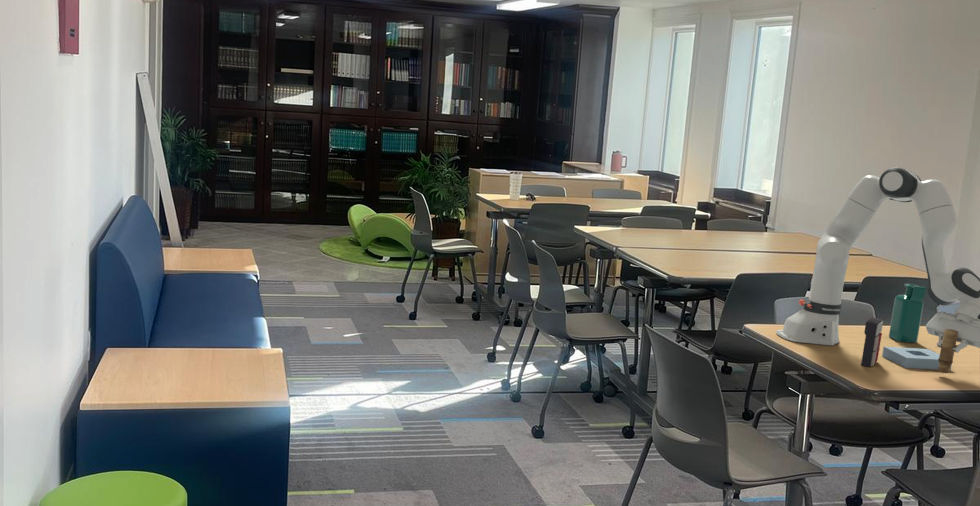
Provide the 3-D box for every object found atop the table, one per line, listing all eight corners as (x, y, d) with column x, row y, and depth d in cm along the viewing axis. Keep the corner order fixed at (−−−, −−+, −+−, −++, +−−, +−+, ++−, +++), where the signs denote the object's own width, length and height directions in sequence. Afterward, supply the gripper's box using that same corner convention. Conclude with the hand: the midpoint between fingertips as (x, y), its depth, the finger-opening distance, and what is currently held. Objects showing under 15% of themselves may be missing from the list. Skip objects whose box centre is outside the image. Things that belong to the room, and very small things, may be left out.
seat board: (904, 367, 312) (906, 357, 311) (882, 356, 326) (883, 346, 325) (950, 370, 314) (952, 360, 314) (926, 358, 328) (927, 349, 328)
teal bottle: (886, 336, 359) (895, 281, 355) (907, 337, 360) (916, 282, 356) (900, 342, 349) (909, 286, 346) (921, 344, 350) (930, 287, 347)
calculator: (872, 368, 307) (879, 324, 305) (858, 365, 310) (865, 321, 307) (878, 361, 317) (885, 319, 314) (864, 359, 319) (871, 317, 316)
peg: (941, 373, 302) (949, 331, 299) (933, 369, 306) (941, 328, 304) (953, 374, 302) (961, 332, 300) (945, 370, 307) (953, 329, 304)
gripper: (935, 304, 313) (914, 334, 309) (996, 319, 297) (975, 351, 293) (940, 316, 317) (919, 345, 313) (1000, 332, 300) (979, 363, 296)
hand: (947, 348), depth 303 cm, fingers closed on peg, 4 cm apart
